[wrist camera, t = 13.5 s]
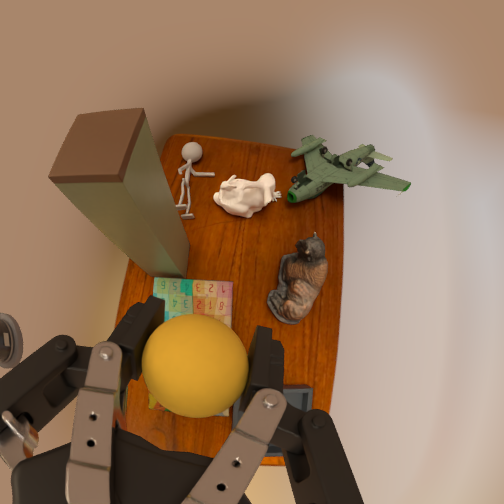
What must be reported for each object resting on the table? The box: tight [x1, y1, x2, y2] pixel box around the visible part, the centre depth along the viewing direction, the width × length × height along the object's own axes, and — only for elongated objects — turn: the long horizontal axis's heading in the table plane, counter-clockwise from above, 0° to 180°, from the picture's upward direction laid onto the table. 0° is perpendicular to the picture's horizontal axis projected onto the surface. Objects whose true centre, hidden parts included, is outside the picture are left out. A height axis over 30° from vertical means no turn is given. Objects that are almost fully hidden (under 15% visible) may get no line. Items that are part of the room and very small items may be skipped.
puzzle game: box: [149, 277, 233, 416], centre depth 38 cm, size 12×5×20 cm
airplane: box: [287, 135, 411, 203], centre depth 50 cm, size 24×23×10 cm
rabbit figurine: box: [214, 173, 281, 218], centre depth 43 cm, size 12×8×10 cm, turn 88°
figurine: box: [175, 142, 215, 219], centre depth 46 cm, size 6×6×15 cm
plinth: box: [48, 108, 190, 279], centre depth 30 cm, size 6×6×30 cm
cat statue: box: [267, 232, 328, 324], centre depth 40 cm, size 12×7×10 cm, turn 165°
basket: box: [232, 385, 313, 457], centre depth 36 cm, size 11×11×4 cm
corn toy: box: [142, 314, 249, 418], centre depth 14 cm, size 5×5×11 cm
